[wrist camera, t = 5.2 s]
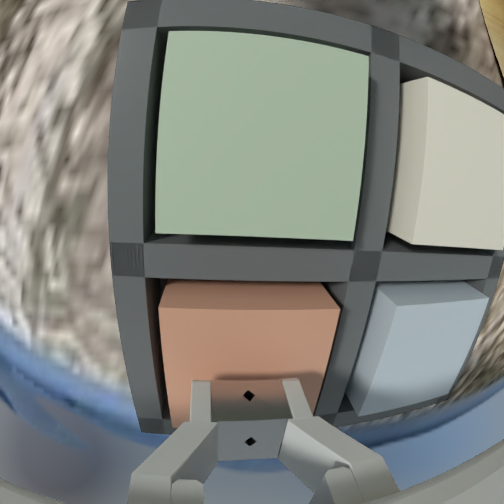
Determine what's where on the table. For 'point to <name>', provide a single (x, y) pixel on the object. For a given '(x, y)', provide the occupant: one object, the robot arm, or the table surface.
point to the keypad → (270, 248)
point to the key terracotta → (244, 335)
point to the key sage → (260, 137)
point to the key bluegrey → (413, 343)
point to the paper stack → (495, 26)
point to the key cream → (447, 169)
